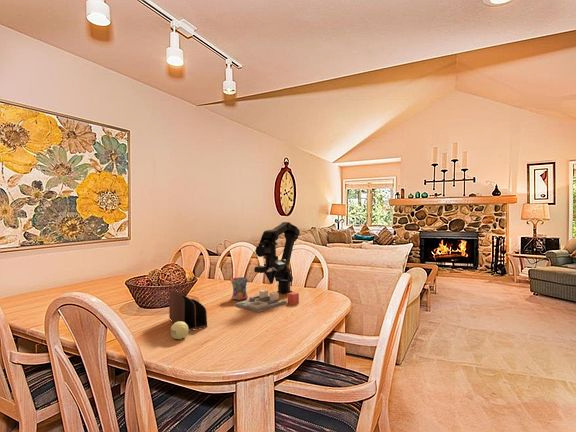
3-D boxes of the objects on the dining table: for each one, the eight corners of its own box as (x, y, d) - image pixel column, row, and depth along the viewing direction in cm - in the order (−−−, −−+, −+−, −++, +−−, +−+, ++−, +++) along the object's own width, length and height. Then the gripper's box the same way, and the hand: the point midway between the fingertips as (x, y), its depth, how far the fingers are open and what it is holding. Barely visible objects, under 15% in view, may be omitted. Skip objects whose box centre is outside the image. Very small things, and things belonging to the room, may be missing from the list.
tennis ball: (168, 320, 125) (176, 324, 120) (184, 318, 130) (193, 322, 125) (166, 338, 124) (174, 342, 120) (182, 335, 129) (191, 339, 124)
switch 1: (263, 296, 177) (263, 289, 177) (268, 297, 175) (268, 290, 175) (259, 297, 175) (259, 290, 175) (263, 298, 173) (263, 291, 173)
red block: (293, 301, 171) (292, 291, 171) (298, 303, 168) (298, 293, 168) (287, 303, 168) (287, 293, 168) (293, 304, 165) (293, 294, 165)
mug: (244, 301, 173) (243, 281, 173) (227, 300, 176) (227, 280, 176) (253, 295, 185) (252, 276, 185) (237, 295, 188) (237, 276, 187)
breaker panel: (264, 297, 180) (264, 292, 180) (286, 303, 168) (286, 297, 168) (235, 305, 166) (235, 299, 166) (257, 312, 155) (257, 306, 155)
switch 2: (273, 299, 172) (273, 292, 172) (278, 300, 169) (278, 293, 169) (269, 300, 169) (269, 293, 169) (274, 301, 167) (274, 294, 167)
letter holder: (182, 333, 130) (181, 297, 130) (169, 320, 147) (168, 288, 146) (207, 327, 136) (206, 293, 136) (191, 315, 152) (190, 284, 152)
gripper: (267, 257, 166) (268, 289, 167) (293, 253, 179) (294, 282, 180) (253, 255, 174) (254, 285, 174) (279, 252, 187) (280, 279, 188)
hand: (271, 283), depth 179 cm, fingers closed
